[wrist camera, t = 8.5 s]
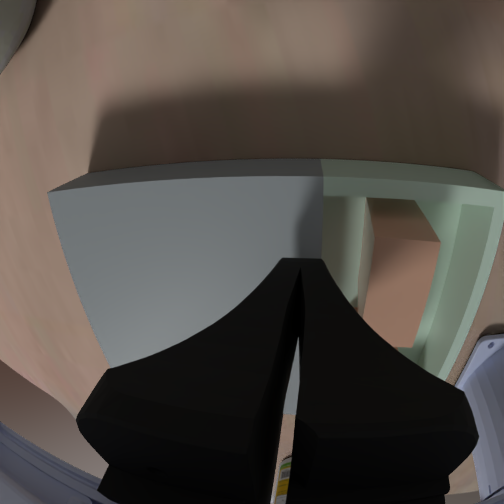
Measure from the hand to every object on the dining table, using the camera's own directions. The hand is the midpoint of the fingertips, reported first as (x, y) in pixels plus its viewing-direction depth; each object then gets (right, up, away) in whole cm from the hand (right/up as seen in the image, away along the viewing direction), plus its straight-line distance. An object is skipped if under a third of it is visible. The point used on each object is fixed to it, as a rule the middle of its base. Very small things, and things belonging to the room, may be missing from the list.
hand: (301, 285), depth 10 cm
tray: (+5, -1, +4) cm, 6 cm away
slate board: (-4, -1, +5) cm, 7 cm away
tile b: (+2, +1, +1) cm, 3 cm away
